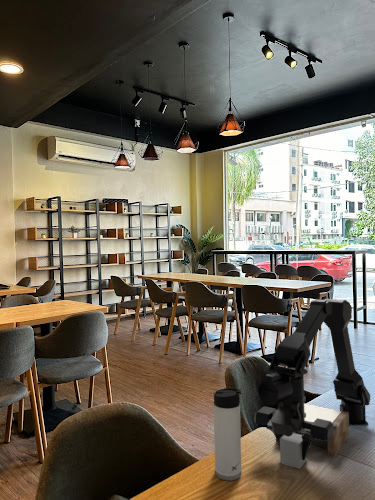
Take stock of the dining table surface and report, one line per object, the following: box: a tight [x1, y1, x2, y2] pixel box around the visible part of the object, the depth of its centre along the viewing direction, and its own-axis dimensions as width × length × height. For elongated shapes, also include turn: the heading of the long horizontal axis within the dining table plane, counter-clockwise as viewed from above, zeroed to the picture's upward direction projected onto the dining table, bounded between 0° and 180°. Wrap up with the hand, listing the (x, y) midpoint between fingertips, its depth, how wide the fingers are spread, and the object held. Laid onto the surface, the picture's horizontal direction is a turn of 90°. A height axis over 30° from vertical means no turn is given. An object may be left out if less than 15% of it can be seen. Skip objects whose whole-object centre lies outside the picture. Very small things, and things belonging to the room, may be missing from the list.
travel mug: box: [213, 387, 242, 482], centre depth 95 cm, size 6×7×20 cm
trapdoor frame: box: [275, 411, 350, 458], centre depth 112 cm, size 15×16×7 cm
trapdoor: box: [296, 403, 341, 434], centre depth 112 cm, size 14×12×2 cm
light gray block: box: [279, 432, 308, 470], centre depth 100 cm, size 5×5×6 cm
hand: (293, 456), depth 100 cm, fingers closed on light gray block, 5 cm apart
